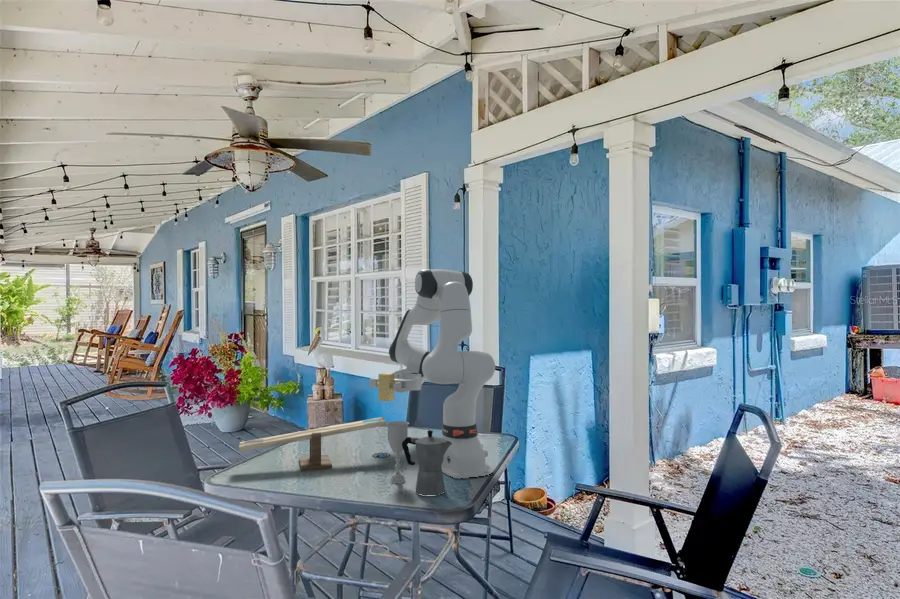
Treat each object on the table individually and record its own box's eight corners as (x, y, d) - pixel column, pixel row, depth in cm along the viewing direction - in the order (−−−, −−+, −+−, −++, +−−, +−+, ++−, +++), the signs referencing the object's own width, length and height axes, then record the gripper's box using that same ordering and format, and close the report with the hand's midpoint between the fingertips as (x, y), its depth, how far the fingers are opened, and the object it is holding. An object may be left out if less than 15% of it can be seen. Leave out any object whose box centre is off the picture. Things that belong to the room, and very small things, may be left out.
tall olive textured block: (394, 399, 205) (394, 373, 205) (389, 401, 201) (388, 374, 201) (384, 398, 207) (384, 372, 207) (378, 400, 203) (378, 374, 203)
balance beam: (386, 425, 191) (386, 420, 191) (239, 451, 176) (238, 446, 176) (382, 421, 198) (382, 416, 198) (240, 446, 182) (240, 441, 182)
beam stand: (332, 468, 181) (332, 433, 182) (301, 471, 178) (301, 435, 178) (328, 458, 195) (327, 424, 195) (299, 460, 192) (299, 426, 192)
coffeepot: (456, 488, 161) (455, 428, 162) (447, 499, 152) (447, 435, 152) (407, 484, 165) (407, 425, 166) (396, 494, 156) (396, 432, 157)
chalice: (409, 477, 172) (409, 421, 172) (409, 484, 165) (408, 425, 165) (386, 477, 171) (386, 421, 172) (385, 484, 165) (384, 425, 165)
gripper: (379, 372, 220) (361, 376, 207) (424, 374, 212) (409, 378, 200) (379, 387, 220) (361, 392, 207) (424, 390, 212) (409, 395, 199)
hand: (385, 385), depth 203 cm, fingers closed on tall olive textured block, 4 cm apart
